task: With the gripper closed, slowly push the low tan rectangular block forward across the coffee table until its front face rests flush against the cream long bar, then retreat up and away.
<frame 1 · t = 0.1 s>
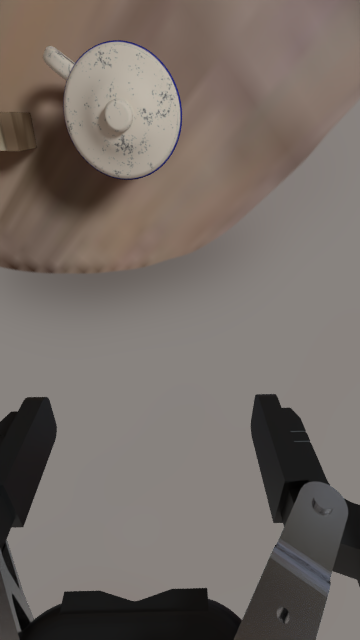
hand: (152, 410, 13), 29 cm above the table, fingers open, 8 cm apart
teacup with lid: (121, 107, 32), on the table
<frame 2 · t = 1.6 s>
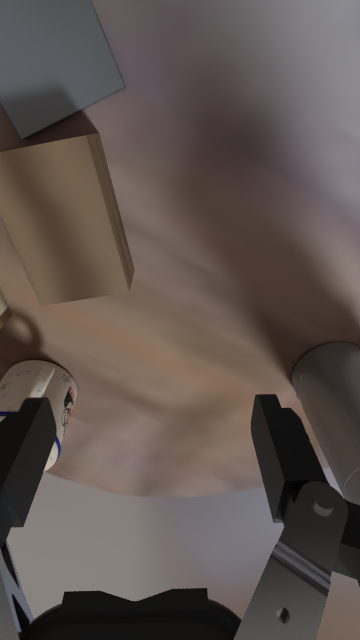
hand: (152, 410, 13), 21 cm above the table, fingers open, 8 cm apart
tan rectangular block: (76, 215, 30), on the table
slate coaster: (40, 44, 23), on the table
teacup with lid: (46, 377, 40), on the table
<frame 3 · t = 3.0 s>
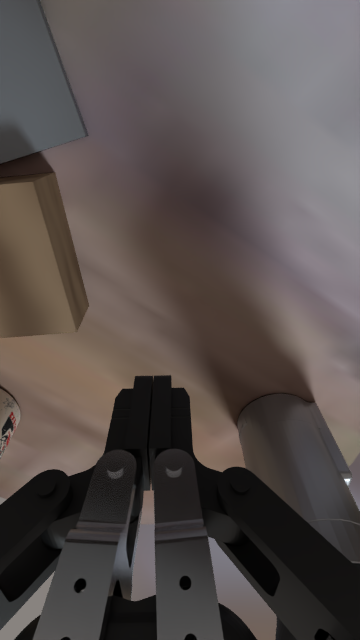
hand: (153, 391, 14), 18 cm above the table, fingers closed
tan rectangular block: (30, 248, 29), on the table
slate coaster: (2, 83, 23), on the table
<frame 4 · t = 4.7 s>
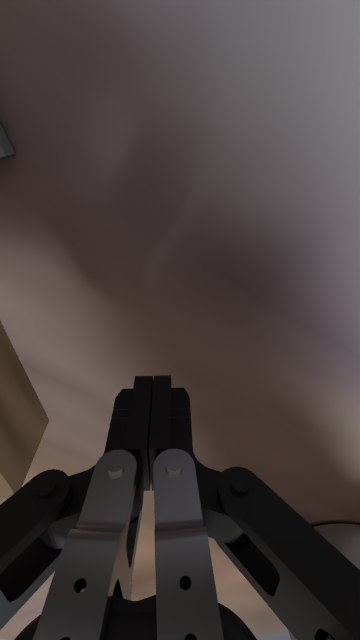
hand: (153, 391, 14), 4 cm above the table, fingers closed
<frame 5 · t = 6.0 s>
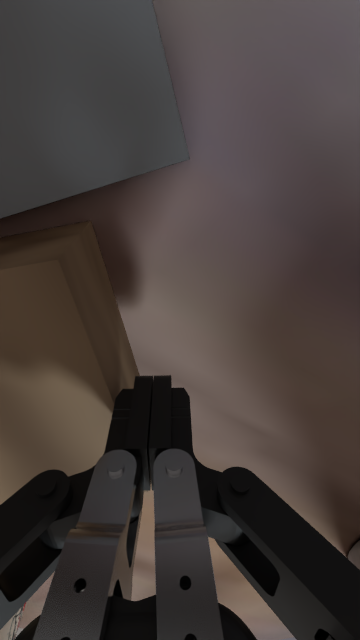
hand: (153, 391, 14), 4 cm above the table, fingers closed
tan rectangular block: (55, 344, 17), on the table, touching gripper
slate coaster: (21, 52, 11), on the table
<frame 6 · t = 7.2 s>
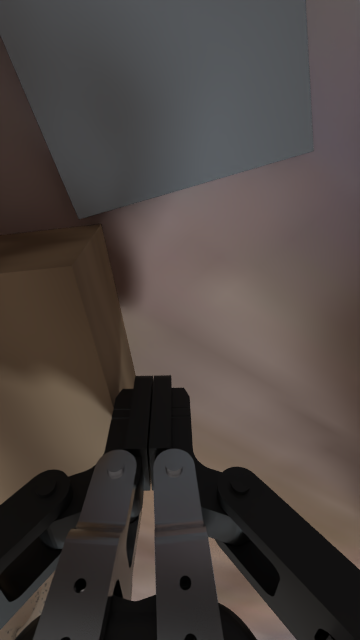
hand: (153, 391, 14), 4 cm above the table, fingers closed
tan rectangular block: (53, 344, 17), on the table, touching gripper
slate coaster: (155, 39, 11), on the table
teacup with lid: (46, 527, 26), on the table
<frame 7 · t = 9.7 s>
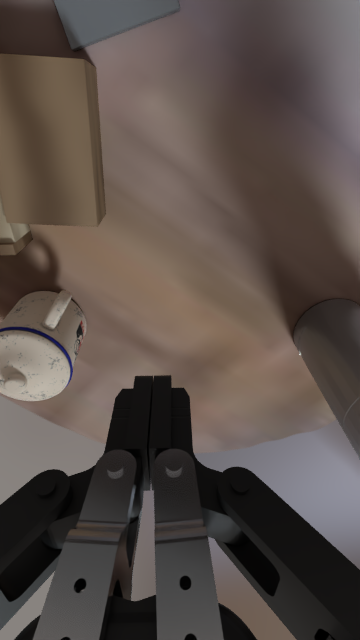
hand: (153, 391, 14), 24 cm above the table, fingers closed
tan rectangular block: (58, 145, 31), on the table
teacup with lid: (56, 311, 40), on the table
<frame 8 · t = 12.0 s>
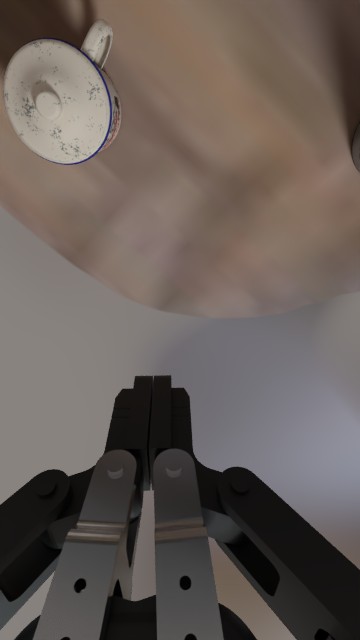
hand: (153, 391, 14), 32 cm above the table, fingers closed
teacup with lid: (88, 96, 35), on the table
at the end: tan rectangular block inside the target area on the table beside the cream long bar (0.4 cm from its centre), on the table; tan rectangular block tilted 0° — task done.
